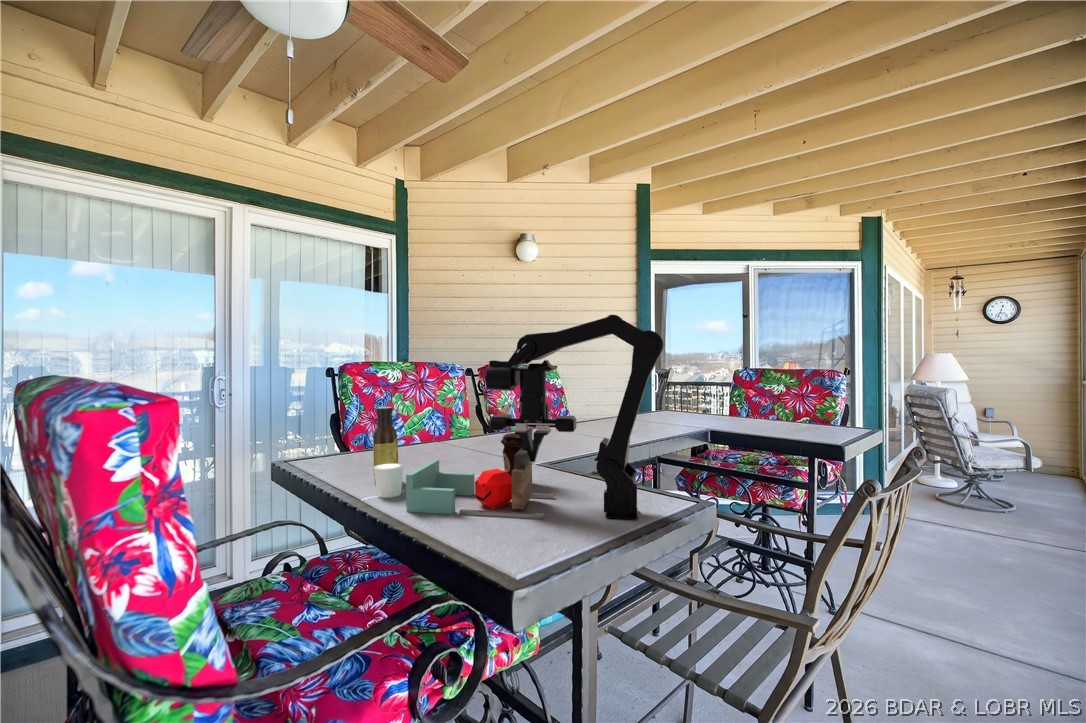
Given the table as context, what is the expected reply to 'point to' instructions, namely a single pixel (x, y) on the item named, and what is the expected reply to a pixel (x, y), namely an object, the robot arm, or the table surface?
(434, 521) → the table surface
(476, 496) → the ball
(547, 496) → the track
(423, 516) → the table surface
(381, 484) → the white cup
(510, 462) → the coffee cup
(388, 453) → the sauce bottle
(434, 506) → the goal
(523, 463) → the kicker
